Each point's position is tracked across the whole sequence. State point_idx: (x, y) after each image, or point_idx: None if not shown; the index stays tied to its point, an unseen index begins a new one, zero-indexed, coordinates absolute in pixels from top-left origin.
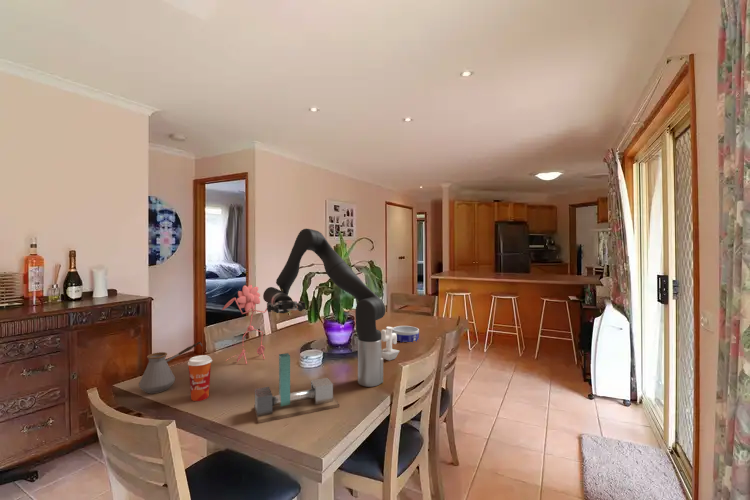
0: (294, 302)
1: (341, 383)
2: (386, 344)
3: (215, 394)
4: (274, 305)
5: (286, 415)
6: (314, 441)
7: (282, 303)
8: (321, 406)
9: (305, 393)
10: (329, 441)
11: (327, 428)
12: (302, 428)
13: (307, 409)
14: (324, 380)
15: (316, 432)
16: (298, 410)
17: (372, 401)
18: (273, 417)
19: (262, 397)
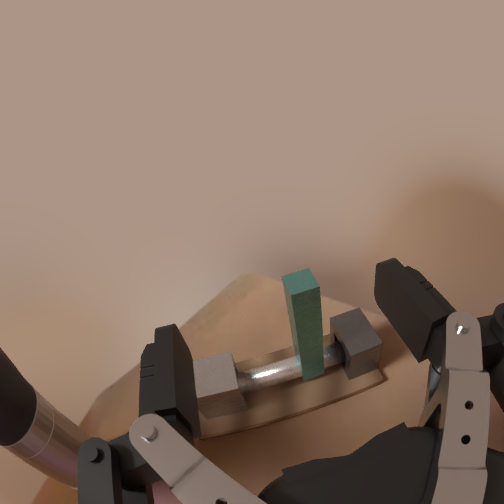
0: (211, 462)
1: (156, 489)
2: None
3: (500, 429)
4: (456, 312)
5: None
6: (252, 291)
7: (418, 473)
8: None
9: (258, 367)
10: (231, 291)
11: (229, 316)
12: (269, 317)
13: (259, 359)
14: (202, 383)
15: (247, 308)
16: (277, 356)
17: (127, 385)
18: (325, 336)
19: (349, 312)
